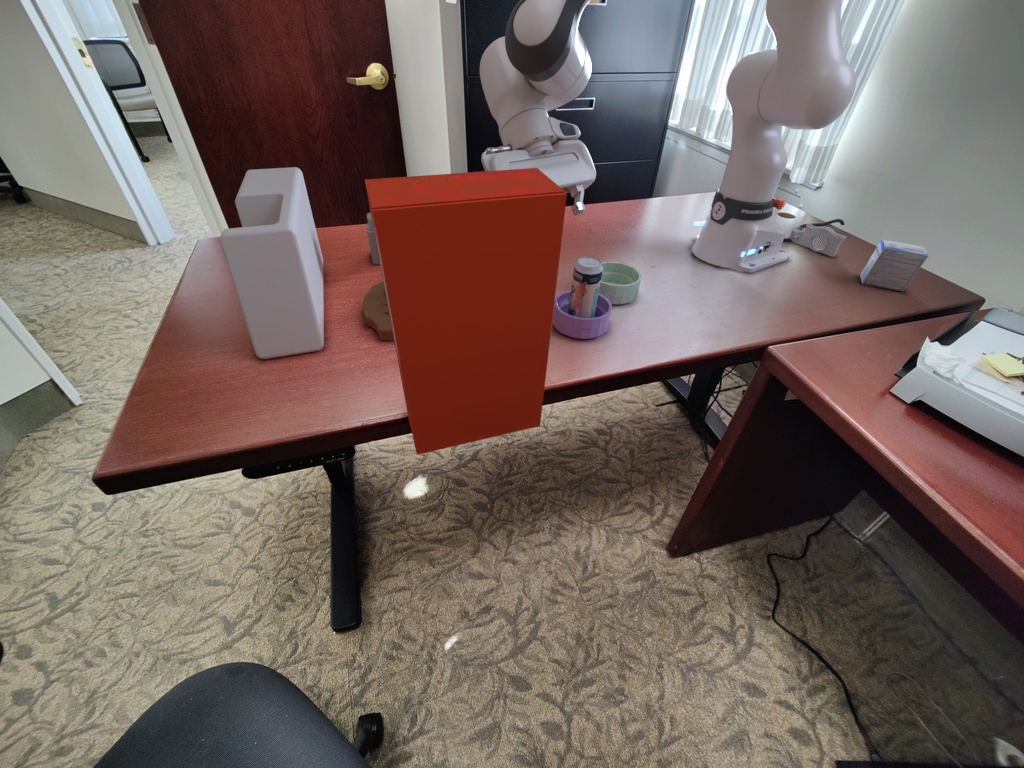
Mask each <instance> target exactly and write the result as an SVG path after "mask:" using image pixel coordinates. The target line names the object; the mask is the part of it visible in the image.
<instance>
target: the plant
mask: <svg viewBox="0 0 1024 768" xmlns="http://www.w3.org/2000/svg"><path fill="white" fill-rule="evenodd" d="M362 309H363V316H364V321H365V324H366V326H368V327H370V328H372V329H374V330H375V331H376V333H377V335H378V336H379V339H380V341H388V342H394V337H393V331H392V326H391V320H390V315H389V309H388V304H387V298H386V293H385V288H384V282H383V281H381V282H379V283H376V284H374V285H372V286H371V288H370V289H369V291H368V292H367V293H366V295H365V296H364V298H363V301H362Z"/></svg>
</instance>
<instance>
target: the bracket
mask: <svg viewBox="0 0 1024 768" xmlns="http://www.w3.org/2000/svg"><path fill="white" fill-rule="evenodd" d="M304 178H305V177H304V174H303V171H302V170H301V169H300V168H299V167H296V166H291V167H276V168H275V167H273V168H257V169H255V168H254V169H248V170H247V171H246V172H245V175H244V177H243V179H242V182H241V184H240V186H239V189H238V192H237V194H236V196H235V199H234V205H235V208H236V210H237V214H238V218H239V221H240V225H241V227H231V228H225V229H223V231H222V232H221V234H220V236H219V245H220V248H221V251H222V254H223V257H224V260H225V263H226V267H227V269H228V273H229V276H230V279H231V282H232V285H233V288H234V291H235V294H236V297H237V300H238V304H239V307H240V310H241V313H242V317H243V319H244V322H245V325H246V328H247V332H248V335H249V338H250V341H251V345H252V348H253V350H254V353H255V356H256V357H257V358H259V359H261V360H269V359H275V358H282V357H287V356H294V355H301V354H306V353H308V354H309V353H314V352H320V351H321V350H322V349H324V347H325V323H324V322H325V310H324V309H325V308H324V307H325V306H324V304H325V301H324V299H325V298H324V293H325V292H324V258H323V257H324V256H323V254H322V253H323V252H322V249H321V245H320V241H319V237H318V233H317V228H316V224H315V220H314V215H313V211H312V208H311V207H312V206H311V204H310V199H309V195H308V190H307V186H306V182H305V179H304Z"/></svg>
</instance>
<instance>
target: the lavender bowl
mask: <svg viewBox="0 0 1024 768" xmlns="http://www.w3.org/2000/svg"><path fill="white" fill-rule="evenodd" d="M570 294H571V289H569V290H564V291H562V292H560V293H559V294H558V295H556V296H555V301H554V309H553V318H552V326H553V327H554V328H555V329H556V330H557V331H558V332H560V334H562V335H565V336H567V337H570V338H575V339H578V340H579V339H580V340H583V339H586V340H587V339H589V340H590V339H594V338H598V337H601V336H602V335H604V334H605V333H606V332H607V331H608V329H609V323H610V319H611V314H612V309H613V304H611V302H610V301H609V300H608V299H607V298H606V297H604V296H603V295H601V294H599V293H598V298H597V304H596V309H595V315H594V318H579V317H574V316H571V315H569V314H568V308H569V301H570Z"/></svg>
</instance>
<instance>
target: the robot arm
mask: <svg viewBox="0 0 1024 768" xmlns="http://www.w3.org/2000/svg"><path fill="white" fill-rule="evenodd" d="M590 2H591V0H519V1H518V2H517V4H516V5H515V6H514V7H513V9H512V11H511V13H510V15H509V17H508V20H507V23H506V27H505V34H504V36H501V37H498V38H496V39H495V40H493V41H492V42H491V43H489V45H488V46H487V48H486V49H485V50H484V52H483V53H482V56H481V58H480V62H479V79H480V83H481V87H482V91H483V94H484V98H485V100H486V103H487V107H488V109H489V111H490V114H491V116H492V118H493V119H494V120H495V121H496V124H497V127H498V134H499V138H500V140H501V143H502V145H500V146H497V147H494V146H491V147H490V146H489V147H486V149H485V151H484V152H482V153H481V157H480V161H481V165H482V166H483V170H484V171H498V170H512V169H527V168H538V169H539V170H540V171H541V172H543V173H544V174H545V175H546V176H547V177H549V178H550V179H551V180H552V181H553V182H554V183H556V184H557V185H558V186H559V187H560V188H562V189H563V190H564V191H565V193H566V194H568V193H569V194H570V196H571V198H574V203H573V205H572V206H570V209H571V212H572V214H573V216H579V215H583V214H584V213H585V212H586V207H585V204H584V202H583V201H584V196H585V190H587V189H588V188H589V187H590V186H591V185H593V183H595V181H596V178H597V169H596V167H595V165H594V162H593V159H592V156H591V154H590V152H589V150H588V147H587V146H586V144H585V143H584V142H583V141H582V140H580V139H579V138H580V137H581V131H580V129H579V127H578V125H576V124H574V123H569V122H567V121H563V120H561V119H560V120H559V119H557V118H555V117H553V116H549V112H552V111H554V110H558V109H559V108H561V107H563V106H566V105H568V104H570V103H571V102H573V101H575V100H577V99H578V98H579V97H580V96H581V95H582V94H583V92H584V91H585V90H586V88H587V87H588V85H589V82H590V80H591V77H592V72H593V61H592V57H591V54H590V52H589V50H588V47H587V44H586V42H585V41H584V38H583V36H582V35H581V33H580V31H579V23H580V19H581V16H582V14H583V12H584V9H586V7H587V5H588V4H589V3H590ZM842 3H843V0H766V3H765V10H764V16H765V21H766V23H767V24H766V25H768V27H769V28H770V30H771V32H772V34H773V38H774V41H775V47H776V48H775V49H774V48H773V49H764V50H759V51H753V52H749V53H747V54H746V55H744V56H743V57H742V58H740V59H739V61H737V63H736V64H735V65H734V67H733V68H732V70H731V71H730V74H729V75H728V79H727V81H726V87H725V96H726V99H727V102H728V104H729V107H730V110H731V118H732V120H731V122H732V124H731V125H732V127H731V128H732V129H731V131H732V132H731V136H732V137H731V144H730V151H729V156H728V159H727V162H726V166H725V170H724V173H723V175H722V179H721V182H720V186H719V188H717V189H716V191H715V194H714V196H713V200H712V203H711V210H710V211H709V212H708V215H707V217H706V219H705V220H704V221H693V226H694V227H696V226H697V227H698V226H702V227H701V230H700V232H699V234H698V235H697V236H696V238H695V240H694V244H693V246H692V247H691V253H692V254H693V255H694V256H695V257H696V258H698V259H699V260H702V261H703V262H705V263H707V264H709V265H713V266H717V267H721V268H726V269H732V270H737V271H740V272H744V273H749V274H750V273H754V272H757V271H759V270H763V269H766V268H768V267H771V266H774V265H777V264H780V263H783V262H785V261H787V260H788V258H789V254H788V252H786V251H785V250H784V249H783V248H781V247H782V245H783V243H793V242H792V240H791V239H790V238H789V237H787V238H786V237H785V231H784V229H783V228H782V227H781V226H780V224H779V223H778V221H777V220H776V219H775V217H774V216H773V212H774V208H775V209H776V210H778V211H781V210H782V209H783V208H785V206H786V204H787V203H786V200H784V199H781V197H777V198H774V197H775V196H774V195H775V193H776V192H777V189H778V186H779V184H780V182H781V179H782V176H783V174H784V172H785V170H786V167H787V165H788V154H787V151H786V149H785V147H784V144H783V136H782V135H783V133H782V132H783V127H785V128H788V129H792V130H801V131H803V130H805V131H807V130H808V131H810V130H811V131H813V130H821V129H824V128H827V127H828V126H830V125H832V123H834V122H835V121H837V120H838V119H839V118H840V117H841V115H842V114H843V113H844V112H845V110H846V109H847V108H848V106H849V105H850V103H851V101H852V99H853V96H854V94H855V90H856V84H857V77H856V72H855V71H854V69H853V67H852V66H851V64H850V63H849V61H848V58H847V56H846V54H845V51H844V50H845V49H844V44H843V37H842V23H841V21H842V19H841V18H842V17H841V16H842ZM844 221H845V220H843V219H841V218H836V219H832V220H829V221H825V222H824V221H823V222H819V223H818V222H817V223H815V222H814V223H810V224H811V225H813V226H816V227H824V226H825V227H826V226H829V225H831V224H835V223H839V224H840V226H845V222H844ZM807 224H808V223H803V224H800V225H798V227H797V229H798V230H800V231H803V232H804V230H803V229H804V228H806V225H807ZM798 236H799V235H798ZM798 236H797V237H798ZM797 237H795V238H792V239H796V238H797ZM799 237H800V236H799ZM797 239H798V238H797Z"/></svg>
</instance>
